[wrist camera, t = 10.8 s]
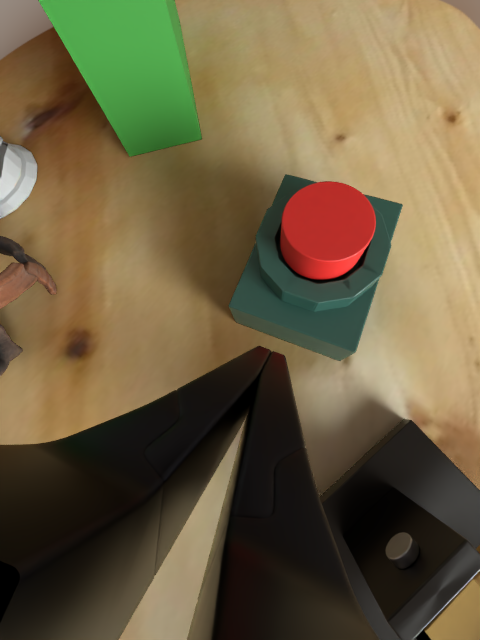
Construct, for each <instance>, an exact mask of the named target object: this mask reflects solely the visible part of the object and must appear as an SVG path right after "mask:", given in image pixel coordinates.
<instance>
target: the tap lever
mask: <svg viewBox="0 0 480 640" xmlns="http://www.w3.org/2000/svg"><path fill="white" fill-rule="evenodd" d="M476 550H477V551H478V552H479V553H480V545H479V546H478V547H477V548H476ZM423 630H424V631H425V632H426V634H427V635H428V636H429V637H430V639H431V640H480V571H479V572H478V573H477V574H476V575H475V577H474V578H473V579H472V580H471V581H470V582H469V583H468V584H467V585H466V586H465V587H464V588H463V589H462V590H461V591H460V592H459V593H458V594H457V595H456V596H455V597H454V598H453V599H452V600H451V601H450V602H449V603H448V605H447V606H446V607H445V608H444V609H443V610H442V611H441V612H440V613H439V614H438V615H437V616H436V617H435V618H434V619H433V620H432V621H431V622H430V623H429V624H428V625H427V626H426V627H425V628H424V629H423Z"/></svg>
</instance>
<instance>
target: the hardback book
mask: <svg viewBox="0 0 480 640" xmlns="http://www.w3.org/2000/svg"><path fill="white" fill-rule="evenodd" d="M39 2H40V4H41V6H42V7H43V9H44V11H45V12H46V14H47V16H48V18H49V19H50V21H51V22H52V24H53V26H54V28H55V30H56V31H57V33H58V35H59V36H60V38H61V40H62V42H63V43H64V45H65V47H66V48H67V50H68V52H69V54H70V55H71V57H72V59H73V60H74V62H75V64H76V66H77V67H78V69H79V71H80V72H81V74H82V76H83V78H84V79H85V81H86V83H87V84H88V86H89V88H90V90H91V91H92V93H93V95H94V96H95V98H96V100H97V102H98V103H99V105H100V107H101V108H102V110H103V112H104V114H105V115H106V117H107V119H108V120H109V122H110V124H111V126H112V127H113V129H114V131H115V132H116V134H117V136H118V138H119V139H120V141H121V143H122V144H123V146H124V148H125V150H126V151H127V153H128V155H129V156H130V157H131V156H135V155H139V154H143V153H147V152H151V151H155V150H159V149H164V148H168V147H172V146H176V145H180V144H184V143H188V142H193V141H197V140H201V139H202V136H201V131H200V126H199V121H198V115H197V110H196V105H195V100H194V94H193V89H192V84H191V79H190V73H189V68H188V63H187V58H186V53H185V47H184V42H183V37H182V32H181V26H180V21H179V17H178V13H177V9H176V5H175V0H39Z"/></svg>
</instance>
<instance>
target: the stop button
mask: <svg viewBox="0 0 480 640" xmlns="http://www.w3.org/2000/svg"><path fill="white" fill-rule="evenodd" d="M375 227H376V218H375V213H374V210H373V207H372V205H371V204H370V202H369V201H368V199H367V198H366V197H365V196H364V195H363V194H362V193H361V192H359V191H358V190H357V189H355V188H353V187H351V186H349V185H346V184H343V183H339V182H318V183H314V184H311V185H308V186H306V187H304V188H302V189H301V190H299V191H298V192H296V193H295V194H294V195H293V196H292V197H291V198H290V200H289V201H288V202H287V204H286V206H285V208H284V211H283V214H282V223H281V239H280V247H281V252H282V255H283V258H284V260H285V261H286V263H287V264H288V265H289V267H290V268H291V269H293V270H294V271H295V272H296V273H298V274H300V275H302V276H304V277H306V278H310V279H314V280H330V279H334V278H337V277H340V276H342V275H344V274H346V273H347V272H348V271H350V270H351V269H352V268H353V267H354V266H355V264H356V263H357V262H358V260H359V258H360V257H361V255H362V254H363V252H364V250H365V249H366V247H367V246H368V244H369V242H370V241H371V239H372V237H373V235H374V232H375Z"/></svg>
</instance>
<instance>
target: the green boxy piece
mask: <svg viewBox="0 0 480 640" xmlns="http://www.w3.org/2000/svg"><path fill="white" fill-rule="evenodd" d="M314 183H318V182H314V181H310V180H306V179H303V178H299V177H295V176H291V175H287V174H286V175H285V176H284V179H283V181H282V183H281V185H280V188H279V190H278V192H277V195H276V197H275V199H274V202H273V204H272V206H271V207H270V208H268V209H267V211H266V213H265V216H264V218H263V220H262V223H261V225H260V227H259V230H258V232H257V234H256V243H255V246H254V248H253V250H252V252H251V255H250V257H249V259H248V262H247V264H246V266H245V269H244V271H243V273H242V276H241V278H240V280H239V283H238V285H237V287H236V289H235V292H234V294H233V296H232V299H231V301H230V303H229V308H230V311H231V313H232V315H233V317H234V319H235V322H236V323H239V324H242V325H245V326H247V327H250V328H253V329H255V330H258V331H261V332H263V333H266V334H269V335H271V336H274V337H277V338H279V339H282V340H285V341H287V342H290V343H293V344H295V345H298V346H301V347H303V348H306V349H309V350H311V351H314V352H317V353H319V354H322V355H325V356H327V357H330V358H333V359H335V360H338V361H341V360H343V359H344V358H346V357H348V356H350V355H352V354H353V353H355V352H356V350H357V347H358V343H359V340H360V337H361V334H362V331H363V328H364V325H365V322H366V318H367V315H368V312H369V309H370V306H371V303H372V300H373V297H374V293H375V290H376V287H377V284H378V281H379V278H380V277H381V275H382V273H383V270H384V267H385V264H386V261H387V258H388V254H389V251H390V248H391V240H392V237H393V234H394V231H395V228H396V225H397V222H398V218H399V215H400V212H401V209H402V206H403V205H402V204H399V203H395V202H392V201H388V200H384V199H380V198H376V197H372V196H368V195H364V194H363V195H364V196H365V197H366V198H367V199H368V201H369V202H370V204H371V205H372V207H373V210H374V213H375V218H376V227H375V232H374V235H373V237H372V239H371V241H370V242H369V244H368V246H367V247H366V249H365V250H364V252H363V254H362V255H361V257H360V258H359V260H358V262H357V263H356V264H355V266H354V267H353V268H352V269H351V270H350V271H348V272H347V273H346V274H344V275H342V276H340V277H337V278H334V279H330V280H314V279H310V278H306V277H304V276H302V275H300V274H298V273H296V272H295V271H294V270H293V269H291V268H290V267H289V265H288V264H287V263H286V261H285V260H284V258H283V255H282V252H281V247H280V239H281V223H282V214H283V211H284V208H285V206H286V204H287V202H288V201H289V200H290V198H291V197H292V196H293V195H294V194H295V193H296V192H298V191H299V190H301V189H302V188H304V187H306V186H308V185H311V184H314Z"/></svg>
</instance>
